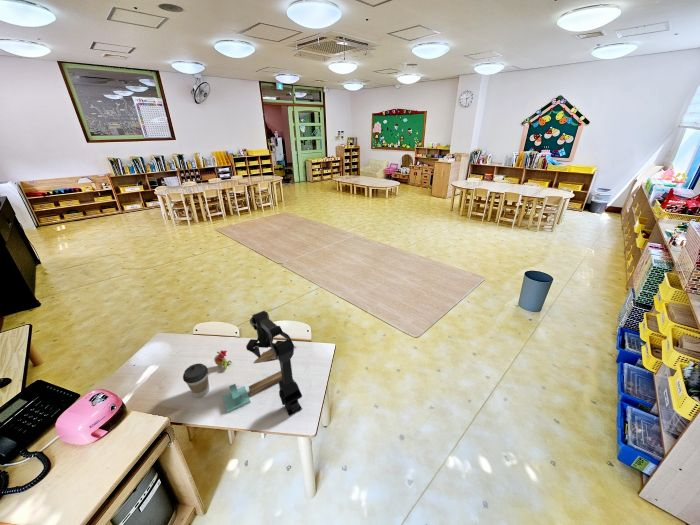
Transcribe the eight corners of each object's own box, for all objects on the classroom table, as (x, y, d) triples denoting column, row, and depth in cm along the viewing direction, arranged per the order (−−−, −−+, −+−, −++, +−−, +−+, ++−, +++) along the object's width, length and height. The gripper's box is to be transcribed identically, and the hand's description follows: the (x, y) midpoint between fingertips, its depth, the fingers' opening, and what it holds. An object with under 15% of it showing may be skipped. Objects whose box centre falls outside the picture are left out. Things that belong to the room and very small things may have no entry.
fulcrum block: (250, 402, 145) (248, 393, 143) (227, 413, 140) (224, 404, 138) (244, 387, 154) (242, 378, 151) (222, 396, 149) (220, 388, 146)
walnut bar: (285, 379, 158) (284, 374, 156) (252, 396, 149) (250, 390, 147) (282, 375, 161) (281, 370, 159) (249, 391, 151) (248, 386, 150)
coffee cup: (198, 381, 158) (191, 360, 151) (218, 384, 156) (211, 362, 150) (184, 399, 148) (176, 377, 141) (205, 402, 146) (197, 380, 139)
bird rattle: (217, 373, 166) (230, 369, 163) (205, 358, 162) (218, 354, 159) (223, 365, 171) (235, 361, 169) (212, 350, 167) (224, 346, 165)
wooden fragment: (293, 342, 185) (293, 340, 184) (299, 353, 176) (298, 351, 175) (251, 355, 175) (251, 354, 174) (255, 368, 166) (254, 367, 165)
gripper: (286, 325, 154) (290, 348, 160) (252, 323, 156) (257, 346, 163) (279, 339, 144) (283, 363, 150) (243, 337, 146) (248, 361, 153)
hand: (268, 358), depth 154 cm, fingers open, 9 cm apart
